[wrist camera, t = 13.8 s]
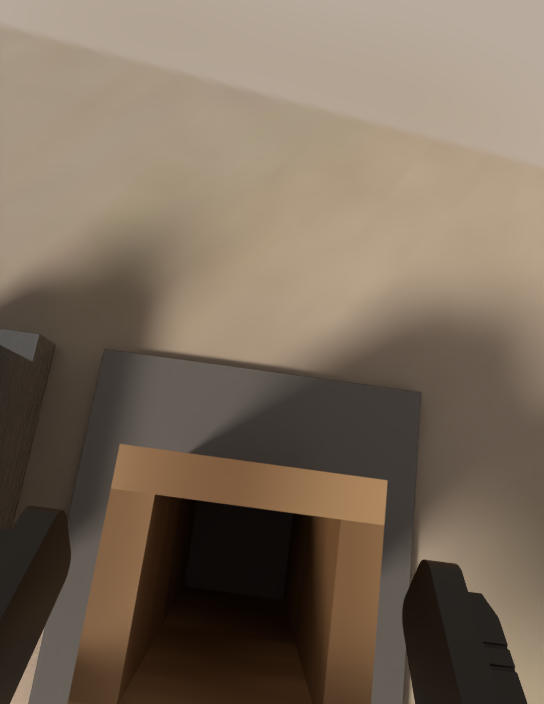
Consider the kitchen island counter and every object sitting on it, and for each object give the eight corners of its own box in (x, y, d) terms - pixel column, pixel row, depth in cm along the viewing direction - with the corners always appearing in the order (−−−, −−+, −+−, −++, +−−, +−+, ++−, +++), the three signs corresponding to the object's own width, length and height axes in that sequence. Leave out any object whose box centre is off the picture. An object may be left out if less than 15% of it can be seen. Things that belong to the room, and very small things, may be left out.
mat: (417, 394, 19) (421, 392, 19) (396, 752, 16) (399, 759, 16) (107, 351, 19) (104, 349, 19) (31, 707, 16) (26, 712, 16)
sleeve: (319, 476, 18) (387, 480, 9) (303, 628, 17) (364, 796, 8) (181, 457, 18) (119, 443, 9) (155, 608, 17) (56, 756, 8)
